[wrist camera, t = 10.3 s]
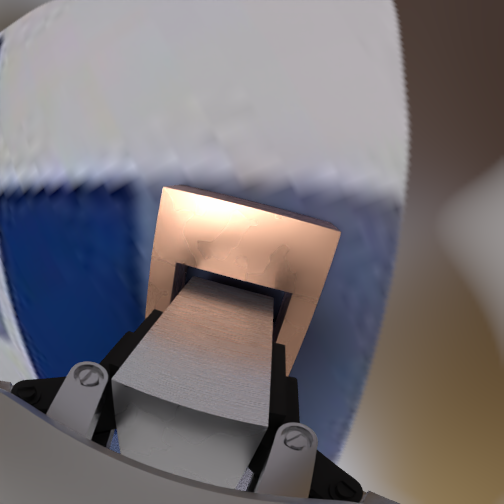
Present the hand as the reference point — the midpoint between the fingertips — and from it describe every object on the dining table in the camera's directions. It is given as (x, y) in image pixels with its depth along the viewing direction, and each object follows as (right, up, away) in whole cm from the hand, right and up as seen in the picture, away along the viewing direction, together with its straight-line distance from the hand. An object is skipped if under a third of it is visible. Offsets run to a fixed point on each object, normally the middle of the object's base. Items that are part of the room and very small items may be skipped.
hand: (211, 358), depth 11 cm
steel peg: (0, +1, +3) cm, 3 cm away
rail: (-2, -6, +7) cm, 10 cm away
